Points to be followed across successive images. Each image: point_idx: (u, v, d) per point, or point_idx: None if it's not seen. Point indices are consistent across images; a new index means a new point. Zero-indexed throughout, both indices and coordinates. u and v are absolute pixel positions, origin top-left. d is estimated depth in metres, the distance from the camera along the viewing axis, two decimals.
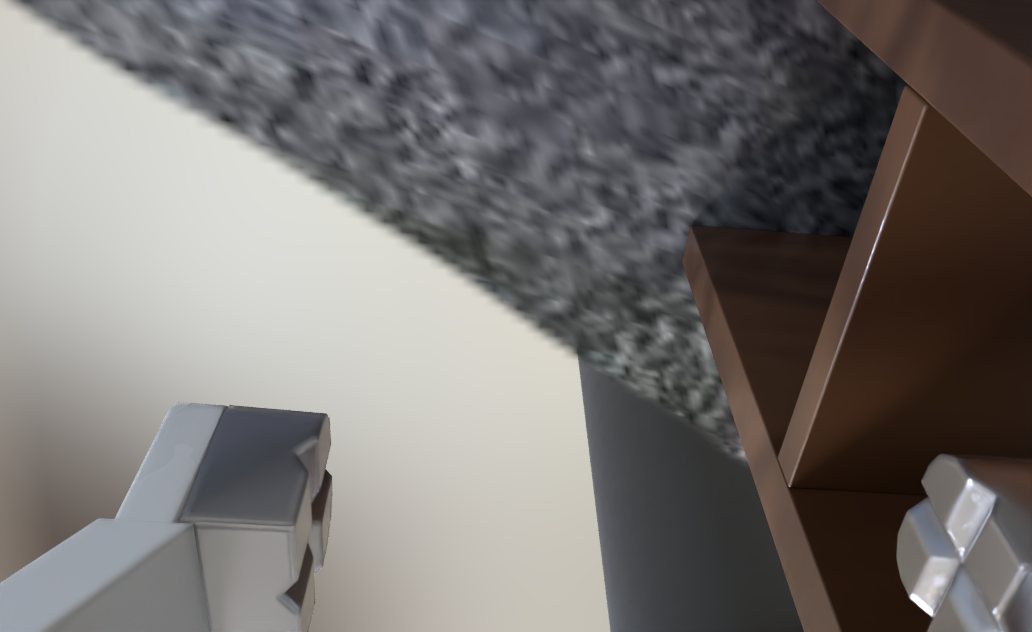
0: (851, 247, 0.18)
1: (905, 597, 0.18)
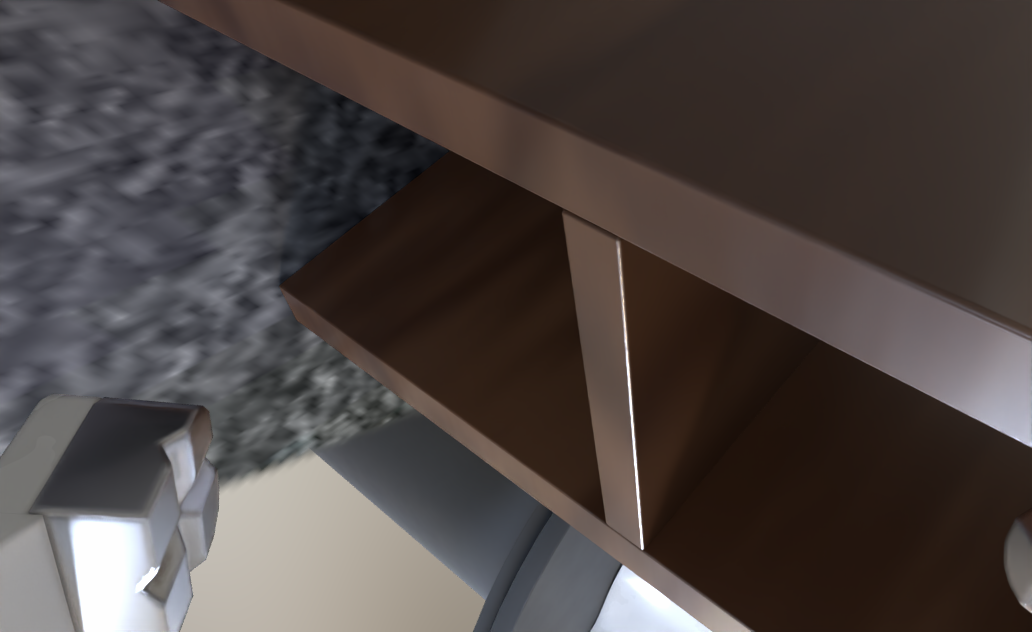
0: (587, 362, 0.14)
1: (814, 578, 0.17)
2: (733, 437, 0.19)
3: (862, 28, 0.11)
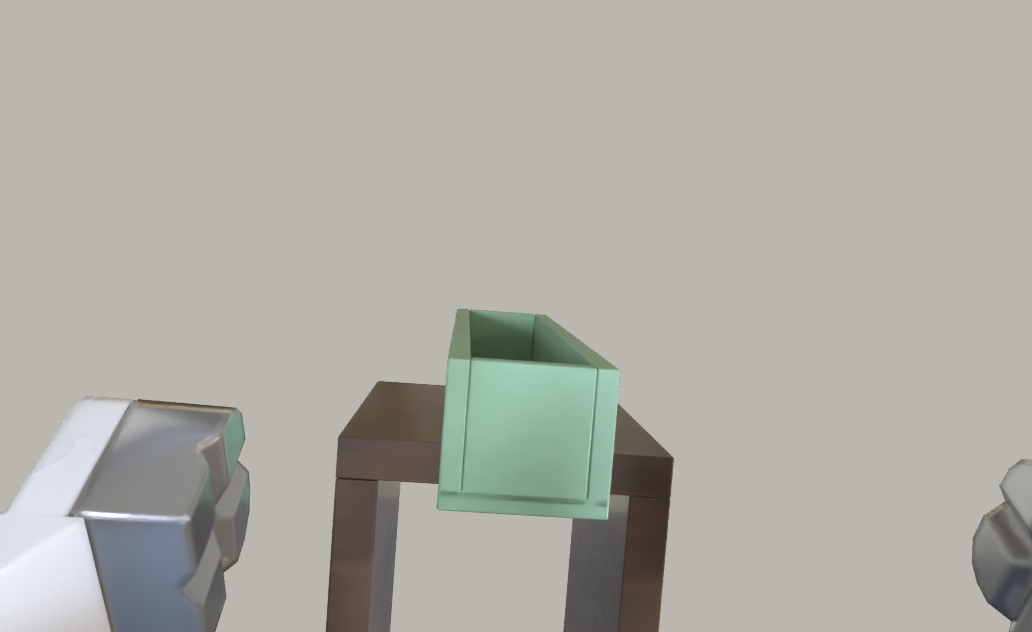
0: None
1: None
2: None
3: None
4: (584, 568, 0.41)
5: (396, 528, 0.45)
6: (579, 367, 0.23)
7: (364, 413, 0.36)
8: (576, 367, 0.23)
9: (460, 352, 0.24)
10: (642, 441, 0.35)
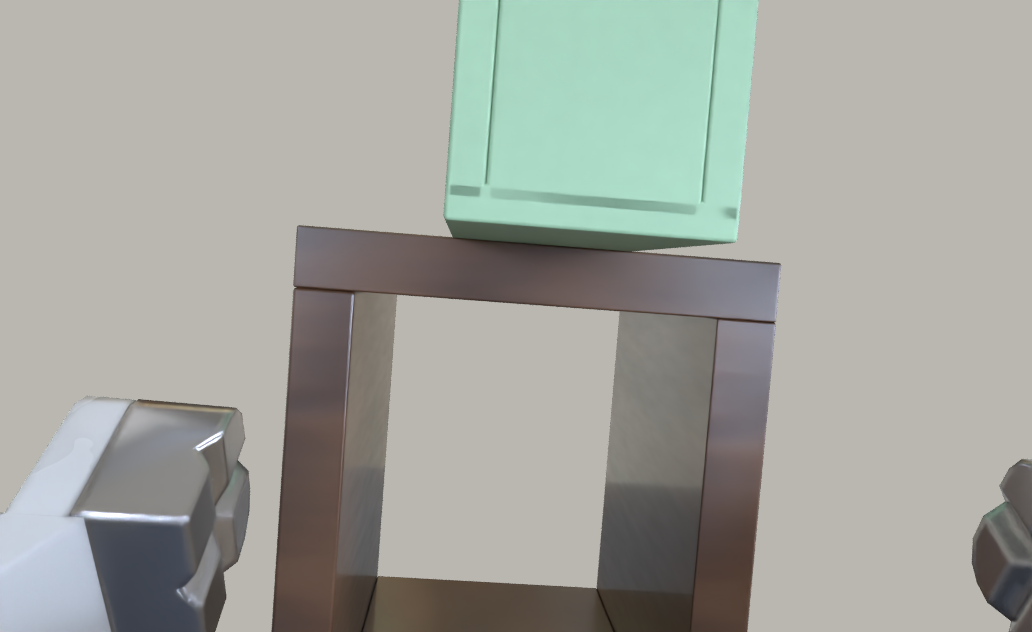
0: None
1: None
2: None
3: None
4: (632, 467, 0.31)
5: (386, 428, 0.35)
6: None
7: None
8: None
9: None
10: None
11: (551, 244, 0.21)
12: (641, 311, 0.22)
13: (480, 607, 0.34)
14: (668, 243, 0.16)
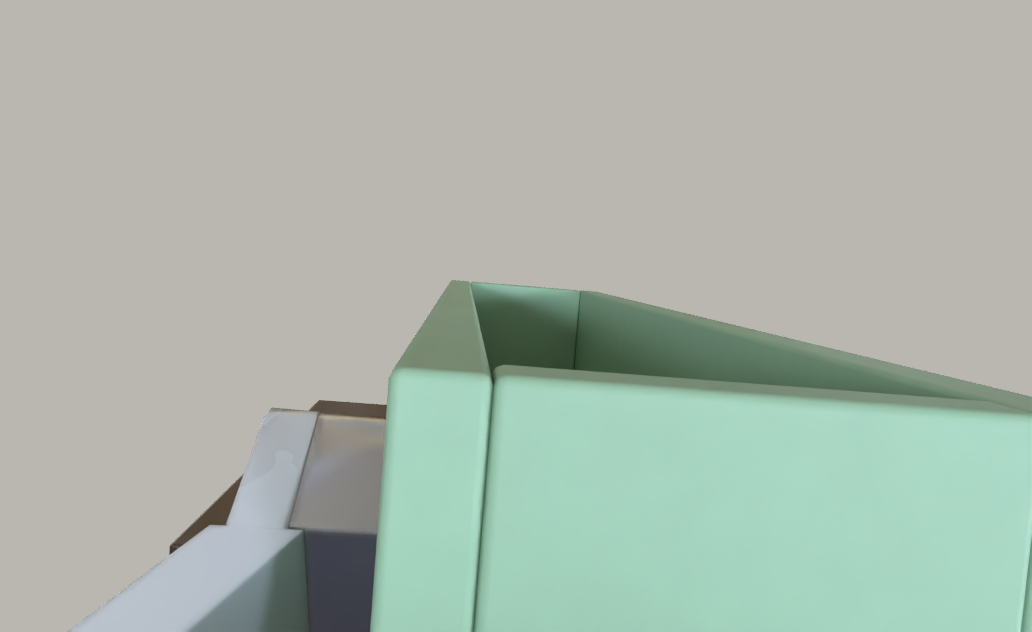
0: None
1: None
2: None
3: None
4: None
5: None
6: (968, 412, 0.05)
7: None
8: (957, 412, 0.05)
9: (449, 345, 0.07)
10: None
11: None
12: None
13: None
14: None
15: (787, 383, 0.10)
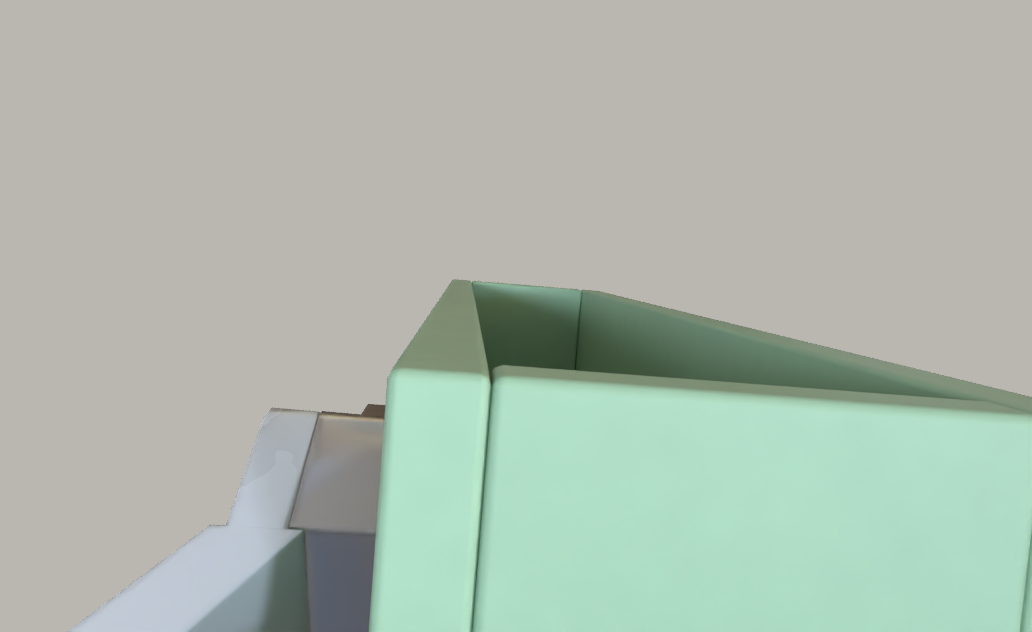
0: None
1: None
2: None
3: None
4: None
5: None
6: (966, 412, 0.05)
7: None
8: (956, 412, 0.05)
9: (448, 346, 0.07)
10: None
11: None
12: None
13: None
14: None
15: (787, 383, 0.10)
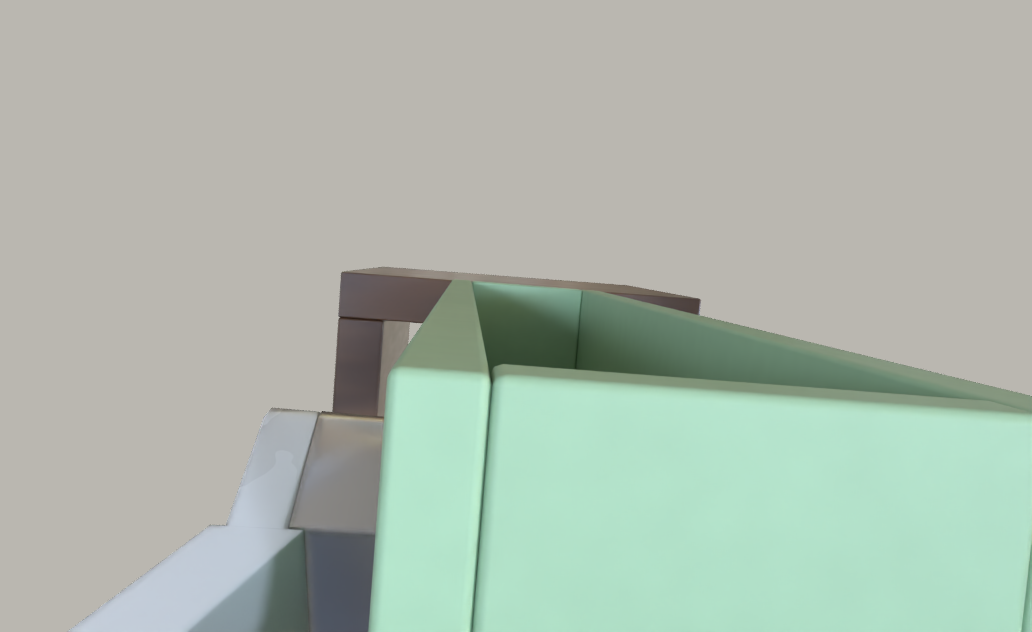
0: None
1: None
2: None
3: None
4: None
5: None
6: (968, 411, 0.05)
7: (368, 270, 0.34)
8: (957, 412, 0.05)
9: (448, 345, 0.07)
10: (665, 294, 0.33)
11: None
12: None
13: None
14: None
15: (788, 382, 0.10)
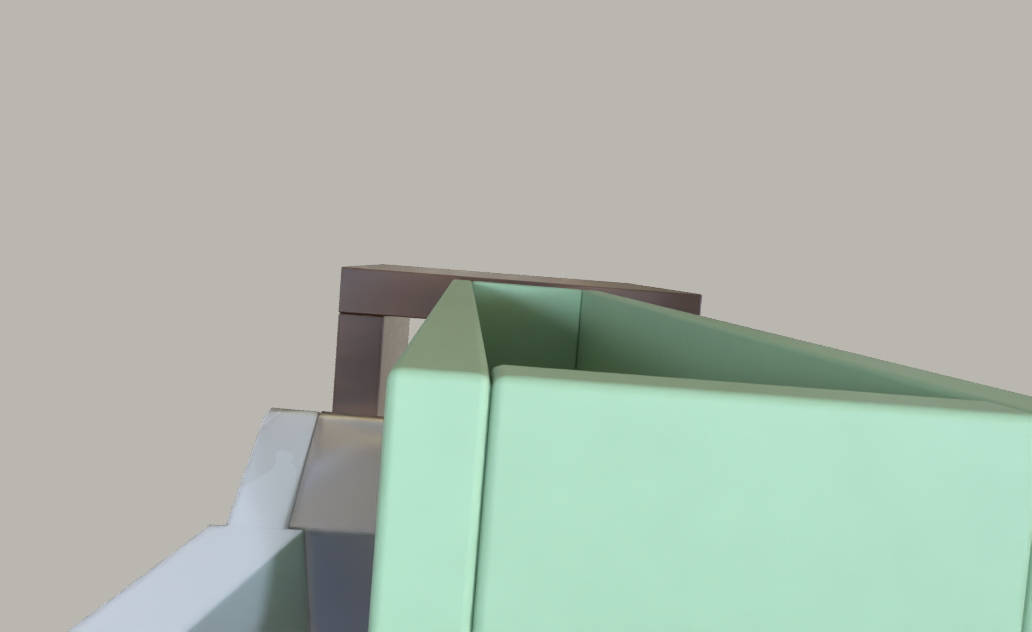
0: None
1: None
2: None
3: None
4: None
5: None
6: (968, 412, 0.05)
7: (369, 266, 0.34)
8: (957, 412, 0.05)
9: (448, 345, 0.07)
10: (666, 290, 0.32)
11: None
12: None
13: None
14: None
15: (788, 383, 0.10)
